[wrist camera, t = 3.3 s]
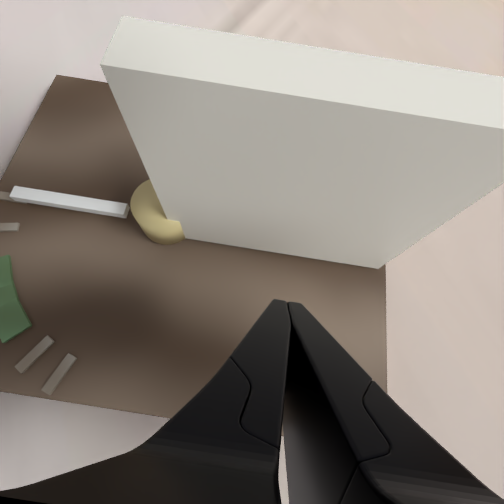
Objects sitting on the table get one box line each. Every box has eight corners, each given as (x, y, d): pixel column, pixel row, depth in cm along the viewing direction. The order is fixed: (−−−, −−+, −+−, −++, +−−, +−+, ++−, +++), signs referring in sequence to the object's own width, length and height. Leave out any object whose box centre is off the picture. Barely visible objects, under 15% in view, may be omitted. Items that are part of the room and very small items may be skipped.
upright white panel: (378, 278, 15) (572, 158, 6) (6, 219, 15) (-297, 18, 6) (378, 230, 16) (546, 69, 7) (29, 174, 16) (-209, -53, 7)
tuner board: (372, 443, 14) (389, 453, 12) (-69, 374, 14) (-107, 375, 12) (373, 144, 20) (384, 125, 18) (69, 95, 20) (55, 72, 18)
